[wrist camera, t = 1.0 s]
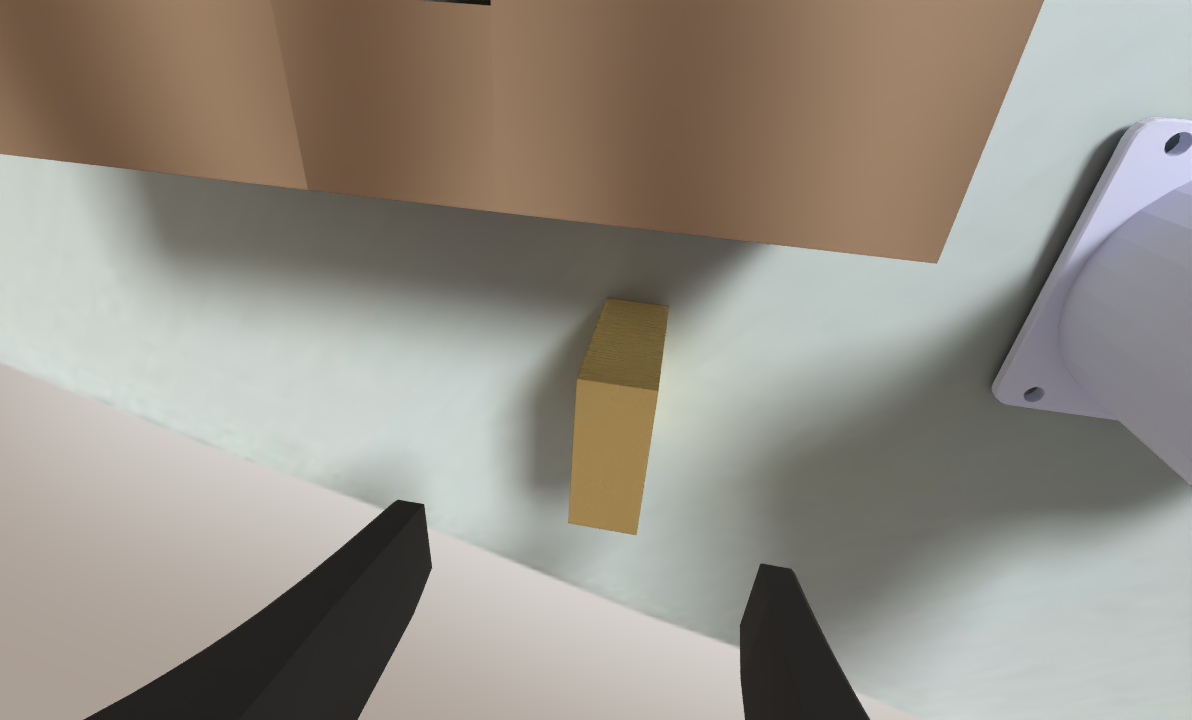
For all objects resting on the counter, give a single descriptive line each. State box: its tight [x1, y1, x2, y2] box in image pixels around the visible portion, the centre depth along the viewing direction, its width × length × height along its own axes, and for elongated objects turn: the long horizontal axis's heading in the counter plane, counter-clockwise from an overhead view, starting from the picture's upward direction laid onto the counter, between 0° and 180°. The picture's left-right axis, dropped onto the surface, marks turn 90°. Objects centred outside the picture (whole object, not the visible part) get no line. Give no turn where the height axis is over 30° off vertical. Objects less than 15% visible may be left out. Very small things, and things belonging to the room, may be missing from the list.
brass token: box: [568, 298, 669, 535], centre depth 17 cm, size 2×5×5 cm, turn 176°
